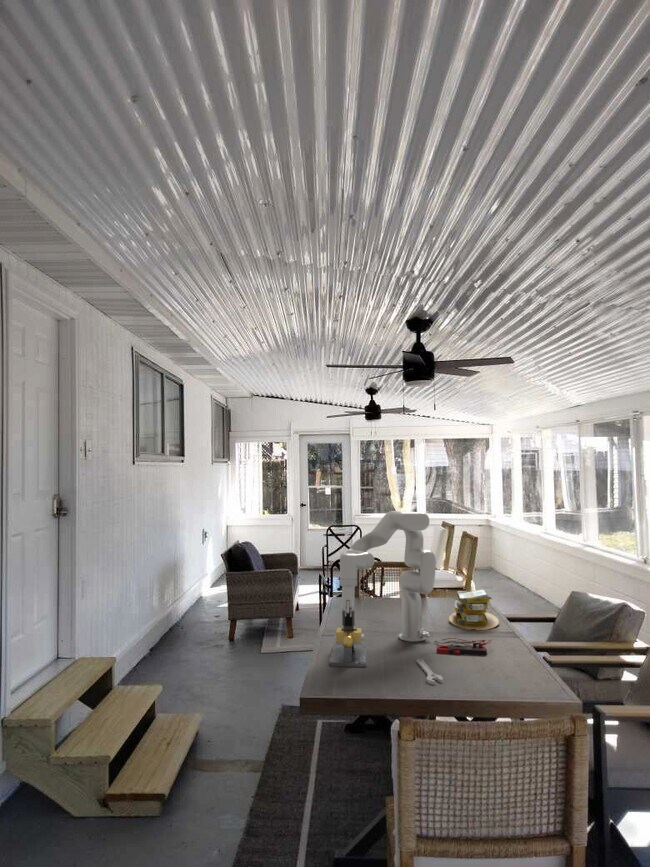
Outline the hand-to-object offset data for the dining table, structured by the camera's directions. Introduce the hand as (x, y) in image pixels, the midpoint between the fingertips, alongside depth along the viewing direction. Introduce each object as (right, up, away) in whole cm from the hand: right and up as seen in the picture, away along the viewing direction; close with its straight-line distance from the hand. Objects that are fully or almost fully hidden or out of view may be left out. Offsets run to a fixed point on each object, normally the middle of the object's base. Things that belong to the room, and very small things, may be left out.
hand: (348, 624), depth 237 cm
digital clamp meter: (+52, -15, +11) cm, 55 cm away
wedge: (0, -6, 0) cm, 6 cm away
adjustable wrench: (+31, -12, -20) cm, 39 cm away
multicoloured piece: (0, -13, -1) cm, 13 cm away
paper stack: (+68, -17, +50) cm, 85 cm away
